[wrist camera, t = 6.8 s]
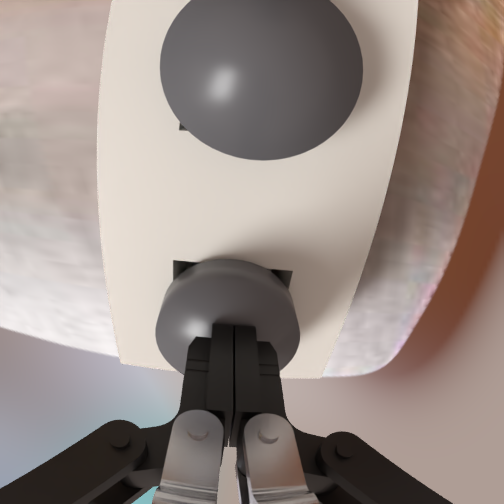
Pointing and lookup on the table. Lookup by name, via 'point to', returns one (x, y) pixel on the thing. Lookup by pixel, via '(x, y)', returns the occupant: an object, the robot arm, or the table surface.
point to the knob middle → (261, 74)
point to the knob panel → (241, 185)
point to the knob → (226, 308)
